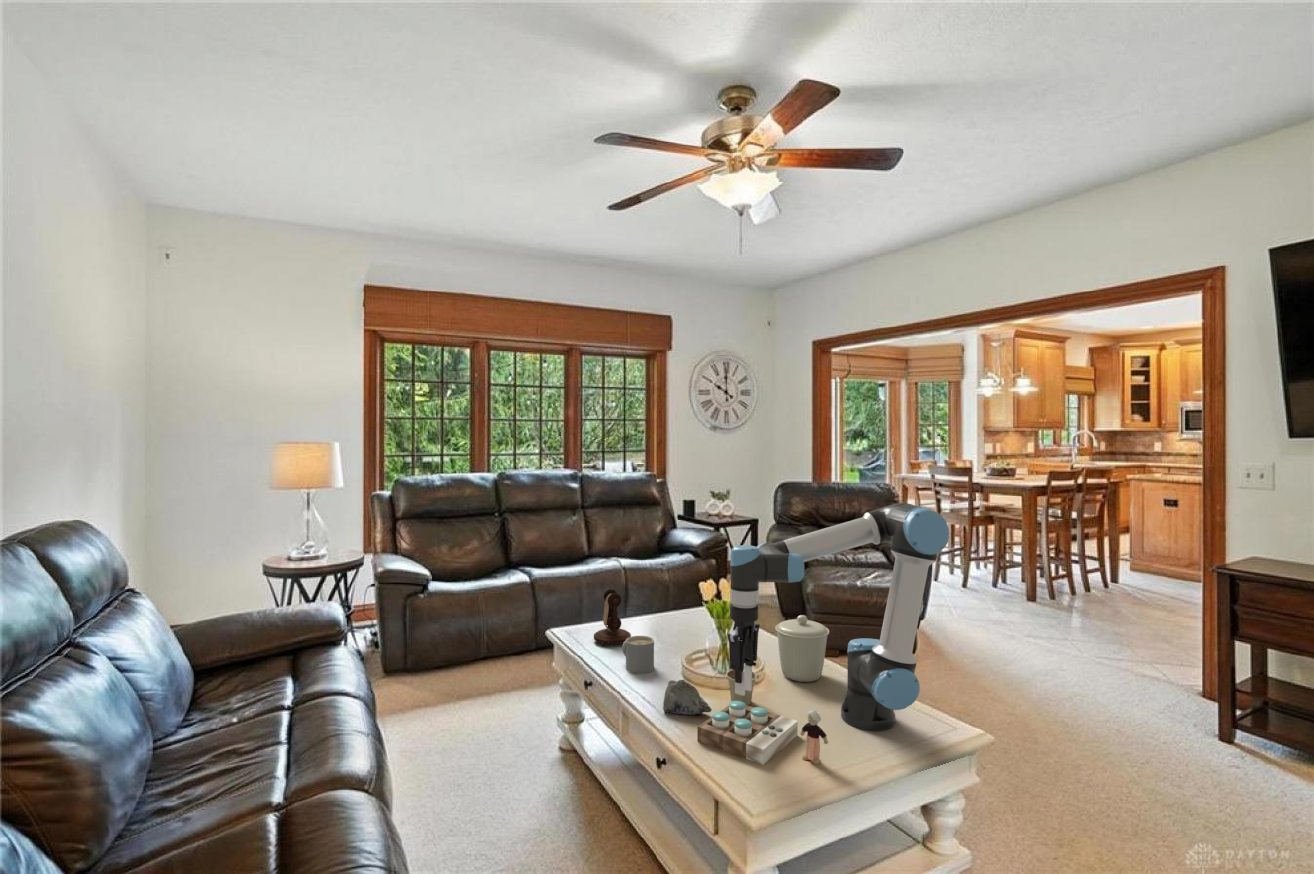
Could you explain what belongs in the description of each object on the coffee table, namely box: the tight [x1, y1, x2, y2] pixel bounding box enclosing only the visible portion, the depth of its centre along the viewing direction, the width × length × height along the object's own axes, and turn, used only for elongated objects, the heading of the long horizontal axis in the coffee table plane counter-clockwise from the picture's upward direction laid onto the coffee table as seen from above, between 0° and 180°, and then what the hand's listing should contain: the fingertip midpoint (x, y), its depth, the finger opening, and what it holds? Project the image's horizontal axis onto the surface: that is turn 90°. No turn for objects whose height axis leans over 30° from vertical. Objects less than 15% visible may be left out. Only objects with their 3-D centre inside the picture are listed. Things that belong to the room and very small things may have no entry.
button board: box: [696, 705, 799, 766], centre depth 175 cm, size 20×20×4 cm
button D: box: [711, 711, 729, 730], centre depth 175 cm, size 5×5×4 cm
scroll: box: [593, 588, 632, 647], centre depth 254 cm, size 15×15×20 cm
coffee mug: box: [621, 635, 655, 675], centre depth 227 cm, size 13×10×10 cm
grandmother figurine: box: [799, 710, 829, 765], centre depth 163 cm, size 8×4×13 cm, turn 58°
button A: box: [751, 706, 769, 726], centre depth 177 cm, size 5×5×4 cm
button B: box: [734, 719, 752, 738], centre depth 170 cm, size 5×5×4 cm
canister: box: [774, 614, 830, 683], centre depth 218 cm, size 18×18×21 cm
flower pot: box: [725, 669, 758, 706], centre depth 198 cm, size 9×9×9 cm
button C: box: [728, 701, 746, 718], centre depth 182 cm, size 5×5×4 cm
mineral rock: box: [662, 679, 712, 716], centre depth 189 cm, size 13×11×10 cm
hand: (743, 691), depth 170 cm, fingers open, 3 cm apart
